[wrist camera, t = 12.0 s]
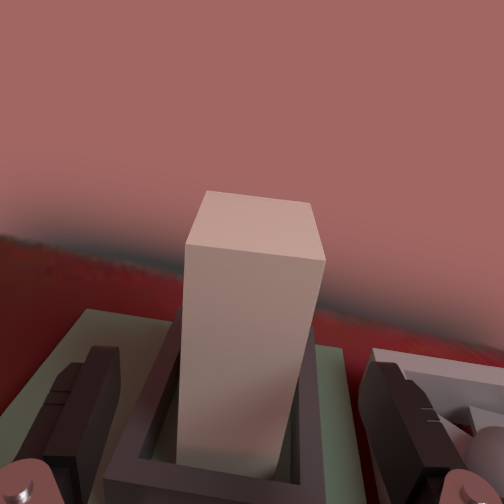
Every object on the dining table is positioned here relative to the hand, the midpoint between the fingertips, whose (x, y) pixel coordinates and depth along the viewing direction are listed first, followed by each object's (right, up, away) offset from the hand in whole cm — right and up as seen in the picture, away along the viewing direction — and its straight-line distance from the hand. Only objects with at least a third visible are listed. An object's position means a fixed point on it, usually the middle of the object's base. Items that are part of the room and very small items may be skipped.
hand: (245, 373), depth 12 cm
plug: (-1, -6, +7) cm, 9 cm away
